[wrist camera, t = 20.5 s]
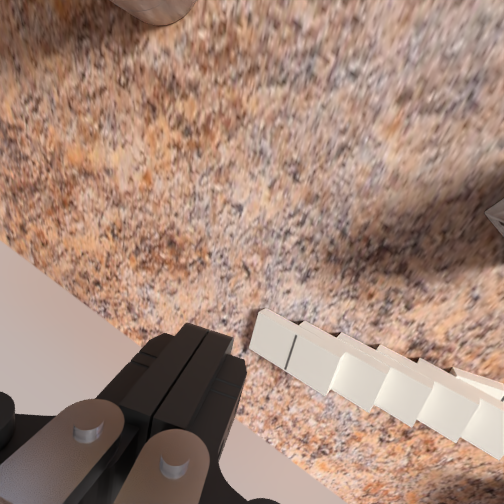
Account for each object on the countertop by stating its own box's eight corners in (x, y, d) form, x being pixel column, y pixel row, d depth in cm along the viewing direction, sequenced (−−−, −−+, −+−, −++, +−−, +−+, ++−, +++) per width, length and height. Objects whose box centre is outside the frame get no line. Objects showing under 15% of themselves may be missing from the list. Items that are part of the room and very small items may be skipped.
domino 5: (437, 411, 37) (534, 445, 36) (457, 375, 36) (559, 409, 34) (433, 401, 39) (526, 433, 38) (452, 366, 37) (550, 398, 36)
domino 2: (286, 361, 40) (369, 413, 35) (298, 325, 38) (386, 374, 33) (293, 355, 41) (373, 404, 36) (304, 320, 39) (390, 367, 35)
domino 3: (323, 373, 39) (412, 427, 34) (336, 337, 37) (432, 389, 33) (328, 367, 40) (415, 418, 36) (341, 332, 39) (434, 381, 34)
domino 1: (248, 348, 40) (325, 396, 36) (258, 312, 39) (340, 358, 34) (256, 342, 42) (330, 388, 37) (265, 307, 40) (345, 351, 35)
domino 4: (380, 344, 38) (479, 396, 33) (364, 379, 40) (457, 433, 35) (376, 349, 37) (479, 405, 32) (360, 385, 39) (456, 443, 34)
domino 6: (398, 399, 38) (499, 460, 33) (417, 363, 36) (527, 423, 32) (401, 391, 39) (498, 449, 35) (419, 357, 37) (525, 414, 33)
